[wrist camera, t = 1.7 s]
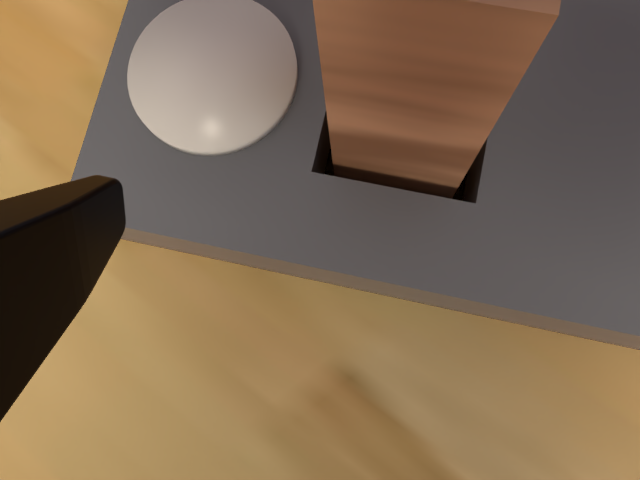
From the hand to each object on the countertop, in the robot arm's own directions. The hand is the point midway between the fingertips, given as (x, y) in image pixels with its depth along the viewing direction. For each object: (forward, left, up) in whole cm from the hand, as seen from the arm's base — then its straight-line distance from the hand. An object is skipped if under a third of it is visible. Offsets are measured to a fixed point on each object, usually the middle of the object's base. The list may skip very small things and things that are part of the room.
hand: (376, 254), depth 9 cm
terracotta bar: (+6, -3, -13) cm, 15 cm away
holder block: (+6, -3, -13) cm, 15 cm away
